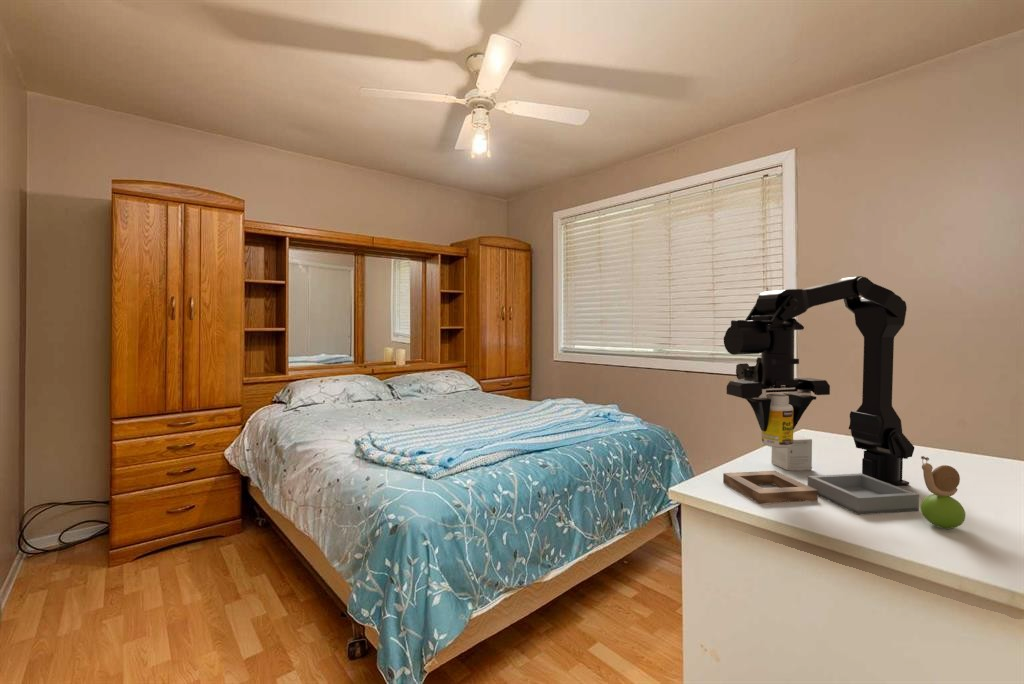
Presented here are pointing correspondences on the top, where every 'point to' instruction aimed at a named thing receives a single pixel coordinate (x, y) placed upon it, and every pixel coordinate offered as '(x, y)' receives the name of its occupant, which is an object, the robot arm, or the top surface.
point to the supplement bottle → (779, 422)
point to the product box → (794, 454)
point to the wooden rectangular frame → (786, 492)
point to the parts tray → (864, 494)
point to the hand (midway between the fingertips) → (777, 430)
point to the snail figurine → (942, 496)
